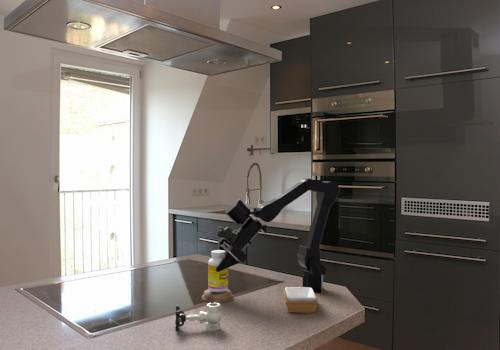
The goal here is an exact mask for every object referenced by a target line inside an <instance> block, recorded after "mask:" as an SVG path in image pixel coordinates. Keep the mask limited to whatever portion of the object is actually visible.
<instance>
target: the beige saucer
mask: <svg viewBox="0 0 500 350" xmlns="http://www.w3.org/2000/svg"><path fill="white" fill-rule="evenodd" d="M233 299H234V294H233V293H232V290H231V289H229V288H228V289H227V290H226V291H223V292H212V291H210V290H209V289H208V288H207V289H206V290H204V291H203V294H202V296H201V300H203V301H204V302H206V303H211V302H214V303H219V304H221V302H222V303H227V301H228V302H230V301H232V300H233Z"/></svg>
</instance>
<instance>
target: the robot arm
mask: <svg viewBox="0 0 500 350" xmlns="http://www.w3.org/2000/svg"><path fill="white" fill-rule="evenodd" d="M308 191H311V192H314V193H315V199H316V207H315V211H314V214H313V218H312V221H311V226H310V229H309V232H308V236H307V241H305V243H304V245H299V247H298V252H297V254H296V256H297V262H298V264H299V265H300V266H301V268H302V270H303V271H304V273H303V274H304V275H302V287H309V288H312V289H313V292H314V293H322V292H323V290H324V288H325V287H324V275H325V274H326V272H327V268H326V267H325V266H324V265H323V264H322V263H321V259H322V258H321V256H322V254H321V242H322V239H323V235H324V231H325V227H326V224H327V219H328V216H329V213H330V209H331V207H332V206H333V204H334V203H335V202H336V200H337V198H338V196H339V194H340V187H339V184H338V183H337V182H335V181H330V180H329V181H328V180H326V181H325V180H323V181H319V180H315V179H312V178H306V177H305V178H302V179H300V181H299V182H297V183H296V184H294V185H293V186H292V187H289V188H288V189H287V190H285V191H284V192H282V193H281V194H280V195H278V196H277V197H275V198H272V199H269V200H267V201H264V202H263V203H259V204H258V205H257V206H256V207H254V208H249V207H248V206H247V205H245V202H243V201H242V199H239V198H238V199H237V200H236V201H234V202H233V203H231V204H230V205H228V207H227V208H226V210H225V212H224V214H225V216H227V217H228V218H229V219H230V220H232V221H233V223H234V224H235V225H241V226H240V227H239V228H238V229H234V230H233V228H230V227H228V226H226V227H225V228H224V227H222V226H220V225H218V226H217V229H216V231H215V233H214V235H216V237H217V238H219V239H218V240H217V247H218V249H217V250H224V251H225V256H224V258H223V259H222V261H221V262H220V264H219V265H218V266H217V268H216V271H217V272H219V271H222V270H224V269H226V268H228V269H229V268H230V267H233V266H235V265H238V264H240V263H241V264H244V263H245V262H246V261H247V260H248V259H247V258H248V255H247V254H246V253H245V252H244V250H245V248H246V247H247V246H248V245H249V246H250V245H252V242H251V241H252V240H253V239H254V238H255V237H256V236H257V235H258V234H259V232H260V231H261V232H262V233H264V234H267V233H268V231H267V230H268V229H267V227H268V226H267V224H262V222H264V223H270V222H272V221H273V220H275V219H276V218H277V217H278V216H279V215H280V213H281V212H282V210H283V209H284V208H285V207H287V206H288V205H289V204H292V202H294V201H295V200H297V199H298V198H300V197H301V196H302V195H304V194H306V193H307V192H308ZM253 217H255V219H254V218H253ZM261 221H262V222H261Z"/></svg>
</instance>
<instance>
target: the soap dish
mask: <svg viewBox="0 0 500 350" xmlns="http://www.w3.org/2000/svg"><path fill="white" fill-rule="evenodd" d="M282 292H283V297H284V302H285V307H286V308H287V312H288V313H303V314H304V313H305V314H307V313H309V314H310V313H311V314H314V313H316V311H317V307H318V306H319V305H318V304H319V301H318V298H317V296H316V294H315V292H313V289H312V288H309V287H303V286H297V287H296V286H288V287H287V286H286V287H285V288H284V290H282Z"/></svg>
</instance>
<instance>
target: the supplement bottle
mask: <svg viewBox="0 0 500 350" xmlns="http://www.w3.org/2000/svg"><path fill="white" fill-rule="evenodd" d="M210 255H211V258H209V260H208V262H207V263H208V264H207V265H208V266H207V267H208V268H207V282H208V283H207V284H208V285H207V286H208V288H207V289H209V290H210V291H212V292H223V291H226V290H227V289H229V267H228V268H226V269H224V270H222V271H219V272H217V271H216V268H217V266H218V265H219V264H220V262H221V261H222V259H223V258H224V256H225V251H224V250H218V249H214V250H211V253H210Z"/></svg>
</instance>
